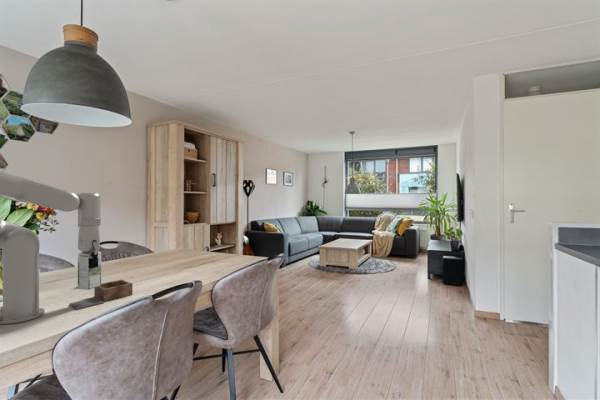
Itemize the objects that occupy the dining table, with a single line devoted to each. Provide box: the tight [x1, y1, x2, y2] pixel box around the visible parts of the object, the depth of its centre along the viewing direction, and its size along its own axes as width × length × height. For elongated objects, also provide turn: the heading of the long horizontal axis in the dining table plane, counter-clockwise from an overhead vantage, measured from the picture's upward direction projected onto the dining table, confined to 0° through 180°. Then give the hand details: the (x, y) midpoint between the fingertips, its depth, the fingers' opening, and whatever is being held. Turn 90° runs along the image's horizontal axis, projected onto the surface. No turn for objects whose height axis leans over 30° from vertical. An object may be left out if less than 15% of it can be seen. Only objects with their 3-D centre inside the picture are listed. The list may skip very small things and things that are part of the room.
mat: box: [69, 297, 105, 311], centre depth 120 cm, size 9×9×1 cm
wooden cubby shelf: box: [93, 279, 133, 303], centre depth 130 cm, size 11×11×5 cm
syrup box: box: [77, 251, 102, 291], centre depth 121 cm, size 6×6×14 cm
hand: (89, 266), depth 121 cm, fingers closed on syrup box, 7 cm apart
